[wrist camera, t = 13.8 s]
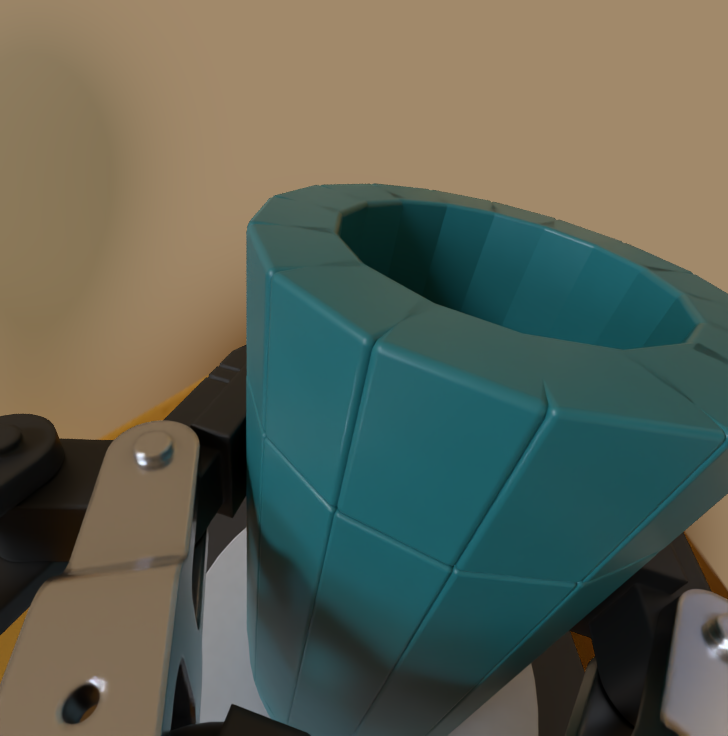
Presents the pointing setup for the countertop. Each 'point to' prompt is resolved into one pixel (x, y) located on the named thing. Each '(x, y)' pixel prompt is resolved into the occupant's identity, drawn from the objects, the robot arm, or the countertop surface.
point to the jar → (457, 444)
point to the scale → (236, 686)
